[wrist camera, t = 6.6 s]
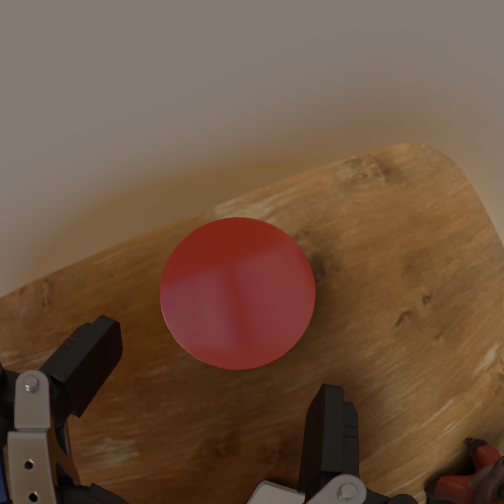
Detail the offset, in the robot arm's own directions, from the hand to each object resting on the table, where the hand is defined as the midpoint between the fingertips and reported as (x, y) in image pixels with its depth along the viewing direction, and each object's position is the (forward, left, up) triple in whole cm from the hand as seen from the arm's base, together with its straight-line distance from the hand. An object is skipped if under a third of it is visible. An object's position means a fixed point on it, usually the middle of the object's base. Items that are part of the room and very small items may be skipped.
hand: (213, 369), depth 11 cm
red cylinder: (+1, +3, -8) cm, 9 cm away
